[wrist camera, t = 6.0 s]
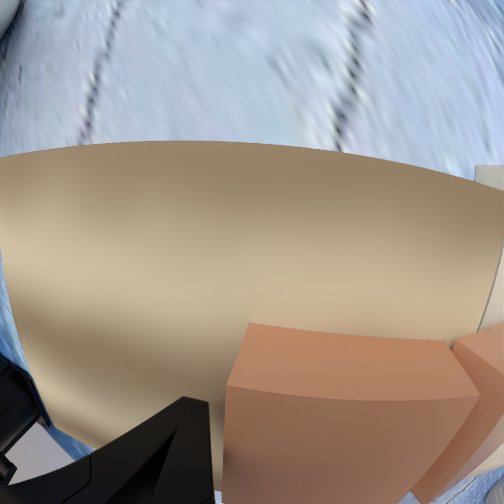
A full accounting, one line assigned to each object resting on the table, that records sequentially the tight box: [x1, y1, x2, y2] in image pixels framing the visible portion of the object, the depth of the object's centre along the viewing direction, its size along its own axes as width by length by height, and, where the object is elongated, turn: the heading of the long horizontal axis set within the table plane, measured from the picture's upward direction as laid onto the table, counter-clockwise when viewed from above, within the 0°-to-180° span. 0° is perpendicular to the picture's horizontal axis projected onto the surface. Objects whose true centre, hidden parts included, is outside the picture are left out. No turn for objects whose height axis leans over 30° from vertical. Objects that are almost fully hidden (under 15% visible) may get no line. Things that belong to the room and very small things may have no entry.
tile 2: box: [411, 321, 504, 504], centre depth 6 cm, size 6×6×2 cm
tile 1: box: [222, 323, 480, 504], centre depth 7 cm, size 6×6×2 cm
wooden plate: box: [0, 141, 504, 492], centre depth 10 cm, size 14×17×4 cm
